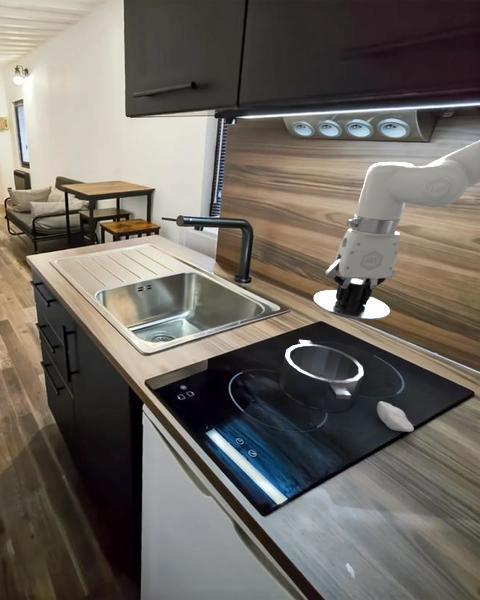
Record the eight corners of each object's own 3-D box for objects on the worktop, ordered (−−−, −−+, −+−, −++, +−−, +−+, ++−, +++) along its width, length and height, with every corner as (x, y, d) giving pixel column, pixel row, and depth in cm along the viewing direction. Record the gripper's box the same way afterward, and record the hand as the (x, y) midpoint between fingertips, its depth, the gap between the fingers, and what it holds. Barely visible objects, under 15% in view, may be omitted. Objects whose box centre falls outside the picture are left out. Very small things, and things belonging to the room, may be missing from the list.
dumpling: (364, 413, 72) (372, 395, 71) (392, 419, 72) (400, 401, 70) (388, 435, 65) (397, 416, 64) (419, 441, 65) (428, 422, 64)
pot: (329, 365, 86) (337, 338, 82) (374, 425, 69) (386, 394, 65) (267, 362, 88) (273, 336, 85) (296, 419, 71) (304, 389, 68)
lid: (366, 295, 91) (375, 270, 88) (403, 324, 78) (414, 295, 75) (303, 293, 93) (309, 269, 90) (328, 321, 80) (336, 294, 77)
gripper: (339, 229, 75) (318, 308, 83) (431, 229, 72) (400, 311, 80) (323, 220, 82) (305, 294, 90) (407, 220, 79) (381, 296, 87)
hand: (350, 301), depth 85 cm, fingers closed on lid, 3 cm apart
